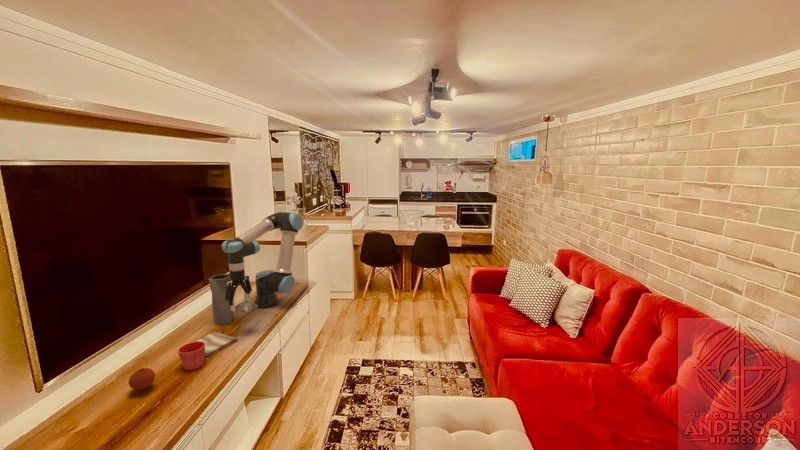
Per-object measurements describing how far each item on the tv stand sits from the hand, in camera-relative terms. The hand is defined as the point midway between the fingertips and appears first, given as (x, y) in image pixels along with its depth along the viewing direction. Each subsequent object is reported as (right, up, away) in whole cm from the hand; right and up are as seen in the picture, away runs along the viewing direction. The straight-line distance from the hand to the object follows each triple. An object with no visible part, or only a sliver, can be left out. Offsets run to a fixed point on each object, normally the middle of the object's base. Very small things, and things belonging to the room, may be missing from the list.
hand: (240, 307), depth 184 cm
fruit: (-19, -23, -46) cm, 54 cm away
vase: (-16, -13, +13) cm, 25 cm away
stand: (-9, -17, -12) cm, 23 cm away
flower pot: (-7, -20, -30) cm, 37 cm away
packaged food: (0, -4, -1) cm, 4 cm away
